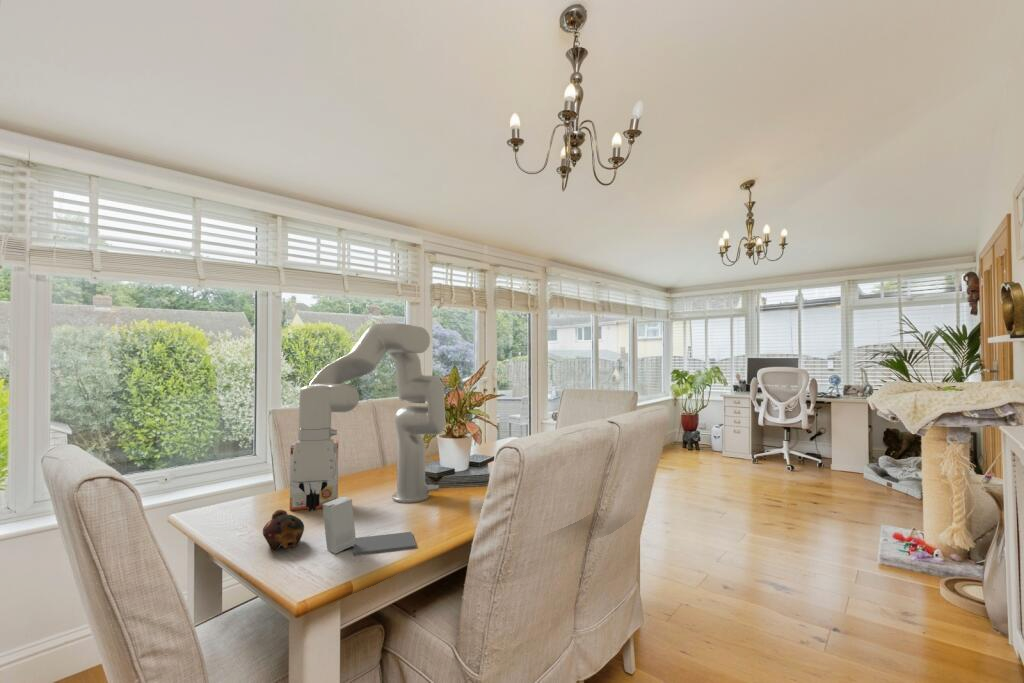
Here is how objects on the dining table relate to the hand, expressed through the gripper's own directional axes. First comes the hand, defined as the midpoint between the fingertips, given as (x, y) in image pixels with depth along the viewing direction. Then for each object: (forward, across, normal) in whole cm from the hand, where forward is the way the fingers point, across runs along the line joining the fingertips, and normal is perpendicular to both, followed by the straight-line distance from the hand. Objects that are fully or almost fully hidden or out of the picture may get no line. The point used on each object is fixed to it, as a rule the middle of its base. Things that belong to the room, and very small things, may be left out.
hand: (312, 509), depth 118 cm
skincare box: (+10, -7, 0) cm, 13 cm away
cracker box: (+10, +2, -39) cm, 41 cm away
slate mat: (+11, -18, 0) cm, 20 cm away
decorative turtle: (+11, +7, -7) cm, 15 cm away
